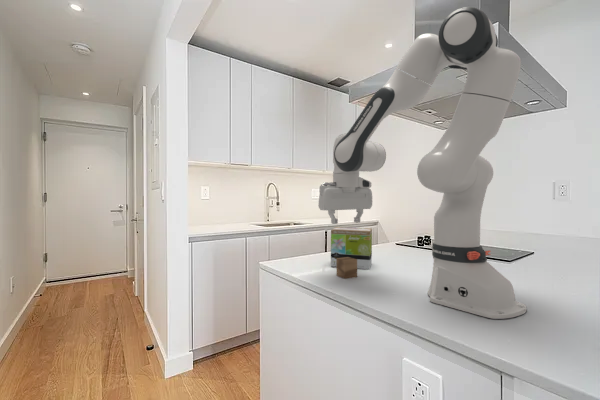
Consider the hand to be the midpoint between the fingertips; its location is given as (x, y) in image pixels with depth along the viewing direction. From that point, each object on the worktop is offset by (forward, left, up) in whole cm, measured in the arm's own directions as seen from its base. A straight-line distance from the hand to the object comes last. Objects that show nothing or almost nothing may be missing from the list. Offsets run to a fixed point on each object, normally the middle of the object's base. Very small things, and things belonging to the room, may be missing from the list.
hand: (346, 223), depth 106 cm
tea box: (+12, -11, -18) cm, 25 cm away
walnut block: (0, 0, -18) cm, 18 cm away
